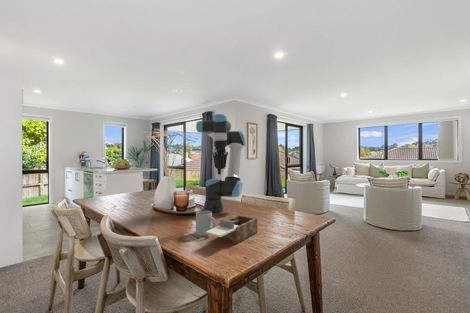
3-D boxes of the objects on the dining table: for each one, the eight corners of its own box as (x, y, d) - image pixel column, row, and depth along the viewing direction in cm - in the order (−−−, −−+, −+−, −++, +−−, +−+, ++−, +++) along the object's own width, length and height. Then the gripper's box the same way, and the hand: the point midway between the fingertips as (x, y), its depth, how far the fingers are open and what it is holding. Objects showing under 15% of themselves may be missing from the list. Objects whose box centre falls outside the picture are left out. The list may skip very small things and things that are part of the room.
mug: (192, 233, 120) (192, 212, 120) (203, 229, 127) (203, 209, 127) (209, 238, 113) (209, 216, 113) (220, 233, 120) (220, 213, 120)
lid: (226, 224, 116) (226, 216, 116) (240, 227, 111) (240, 219, 111) (205, 233, 104) (205, 224, 103) (220, 237, 99) (220, 228, 99)
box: (238, 228, 129) (238, 215, 129) (257, 232, 122) (257, 218, 122) (218, 238, 114) (218, 223, 114) (238, 243, 107) (238, 227, 107)
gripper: (222, 141, 144) (222, 178, 145) (208, 140, 134) (208, 180, 134) (231, 140, 140) (231, 179, 140) (218, 139, 129) (218, 181, 130)
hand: (220, 179), depth 137 cm, fingers closed
